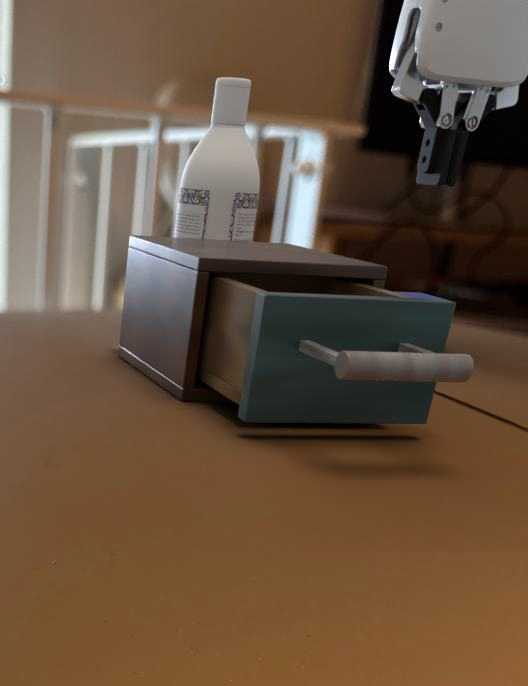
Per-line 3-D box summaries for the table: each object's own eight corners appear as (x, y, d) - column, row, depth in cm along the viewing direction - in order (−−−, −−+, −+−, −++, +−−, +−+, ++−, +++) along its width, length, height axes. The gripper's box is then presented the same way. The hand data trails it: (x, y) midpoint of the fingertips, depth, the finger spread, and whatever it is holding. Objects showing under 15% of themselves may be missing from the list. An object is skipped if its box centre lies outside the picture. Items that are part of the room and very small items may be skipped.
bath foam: (235, 324, 92) (271, 84, 83) (241, 336, 86) (280, 78, 77) (163, 318, 93) (190, 79, 83) (164, 329, 86) (194, 72, 77)
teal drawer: (488, 453, 51) (525, 320, 48) (290, 453, 48) (316, 312, 45) (320, 374, 68) (340, 271, 65) (167, 371, 65) (180, 264, 62)
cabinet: (359, 403, 64) (388, 266, 60) (181, 401, 61) (199, 257, 57) (269, 359, 77) (288, 243, 73) (117, 355, 74) (129, 234, 70)
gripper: (548, -70, 75) (483, 188, 84) (380, -96, 72) (330, 177, 80) (620, -88, 69) (542, 193, 77) (439, -118, 65) (378, 181, 73)
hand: (434, 184), depth 78 cm, fingers closed
